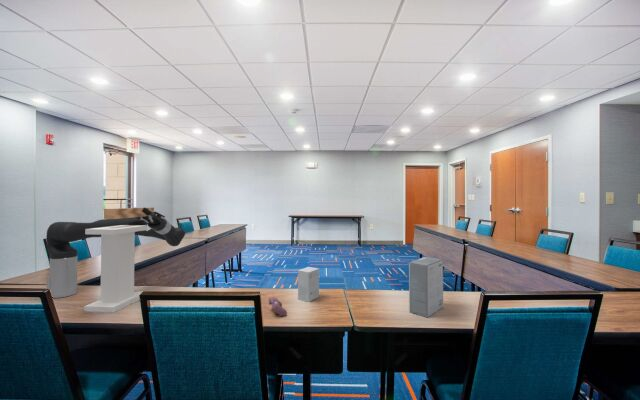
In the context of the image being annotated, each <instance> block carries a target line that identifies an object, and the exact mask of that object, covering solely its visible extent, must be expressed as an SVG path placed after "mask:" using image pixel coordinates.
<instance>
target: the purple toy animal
mask: <svg viewBox="0 0 640 400" xmlns="http://www.w3.org/2000/svg"><path fill="white" fill-rule="evenodd" d="M267 302H268V305H269V306H270V305H271V309H272V311H273V313H274V314H276V315H280V316H283V317H286V316H287V315H288V311H287V309H285V308H284V307H283V303H282V302H281V301H280V300H278V298H277V297H275V296H271V297H268V301H267Z"/></svg>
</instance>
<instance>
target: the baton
mask: <svg viewBox="0 0 640 400" xmlns="http://www.w3.org/2000/svg"><path fill="white" fill-rule="evenodd" d="M143 208H144V207H136V208H134V207H125V208H124V207H122V208H119V207H118V208H103V219H120V218H132V217H144V216H148V215H146V214H145V213H144V212H142V210H143ZM146 208H147V209H148V210H150V211H152V212H154V211H155V207H146Z"/></svg>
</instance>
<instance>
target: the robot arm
mask: <svg viewBox="0 0 640 400" xmlns="http://www.w3.org/2000/svg"><path fill="white" fill-rule="evenodd" d="M133 208H137V207H133ZM142 208H143V210H142V212H144V213H145V214H146V215H148V216H144V217H132V218H120V219H104V218H103V219H97V220H95V221H92V222H78V221H77V222H76V221H75V222H74V221H57V222H53V223H51V224H50V225H48V228H47V230H46V250H47V253H48V254H49V274H48V275H47V276H46V290H47V289H50V290H51V294H52V296H53V298H52V299H59V298H66V297H70V296H73V295H76V294H77V293H78V255H79V254H78V253H79V252H78V250H77V249H76V248H74V247H73V246H72V245H71V244H70V243H74V242H78V241H81V240H86V239H89V238H101V235H97V234H85V229H91V228H101V227H110V226H119V225H147V227H149V228H150V229H147V230H143V231H137V232H135V236H141V237H146V238H147V237H149V238H156V239H159V240H162V241H165V242H166V243H167V244H168V245H169V246H171V247H178V246H179V245H180V244H181V242H182V241H183V239H184V237H185V236H186V230H185V229H183V228H181V227H175V226H174V225H172V224H171V222H169V221H168V220H167V219H166V218H165V217H166V216H165V215H163V214H161V213H159V212H157V211H155V210H154V212H152V211H150V210H148V209H147V208H148V207H142Z"/></svg>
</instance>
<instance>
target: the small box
mask: <svg viewBox="0 0 640 400" xmlns="http://www.w3.org/2000/svg"><path fill="white" fill-rule="evenodd" d="M318 298H320V268H318V267H314V266H313V267H311V266H307V267H304V268H300V269H298V270H297V300H299V301H302V302H303V301H304V302H305V303H310V302H312V301H314V300H316V299H318Z"/></svg>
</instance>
